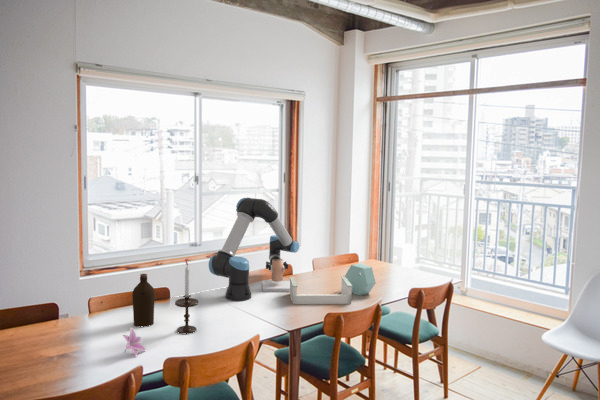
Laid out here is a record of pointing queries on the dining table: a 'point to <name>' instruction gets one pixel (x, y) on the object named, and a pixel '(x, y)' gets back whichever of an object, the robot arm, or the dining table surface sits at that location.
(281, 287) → the potting board
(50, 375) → the dining table surface
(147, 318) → the olive oil
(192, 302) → the candlestick
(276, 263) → the pot
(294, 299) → the grey u-shaped bracket
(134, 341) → the lily
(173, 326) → the dining table surface
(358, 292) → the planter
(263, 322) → the dining table surface
